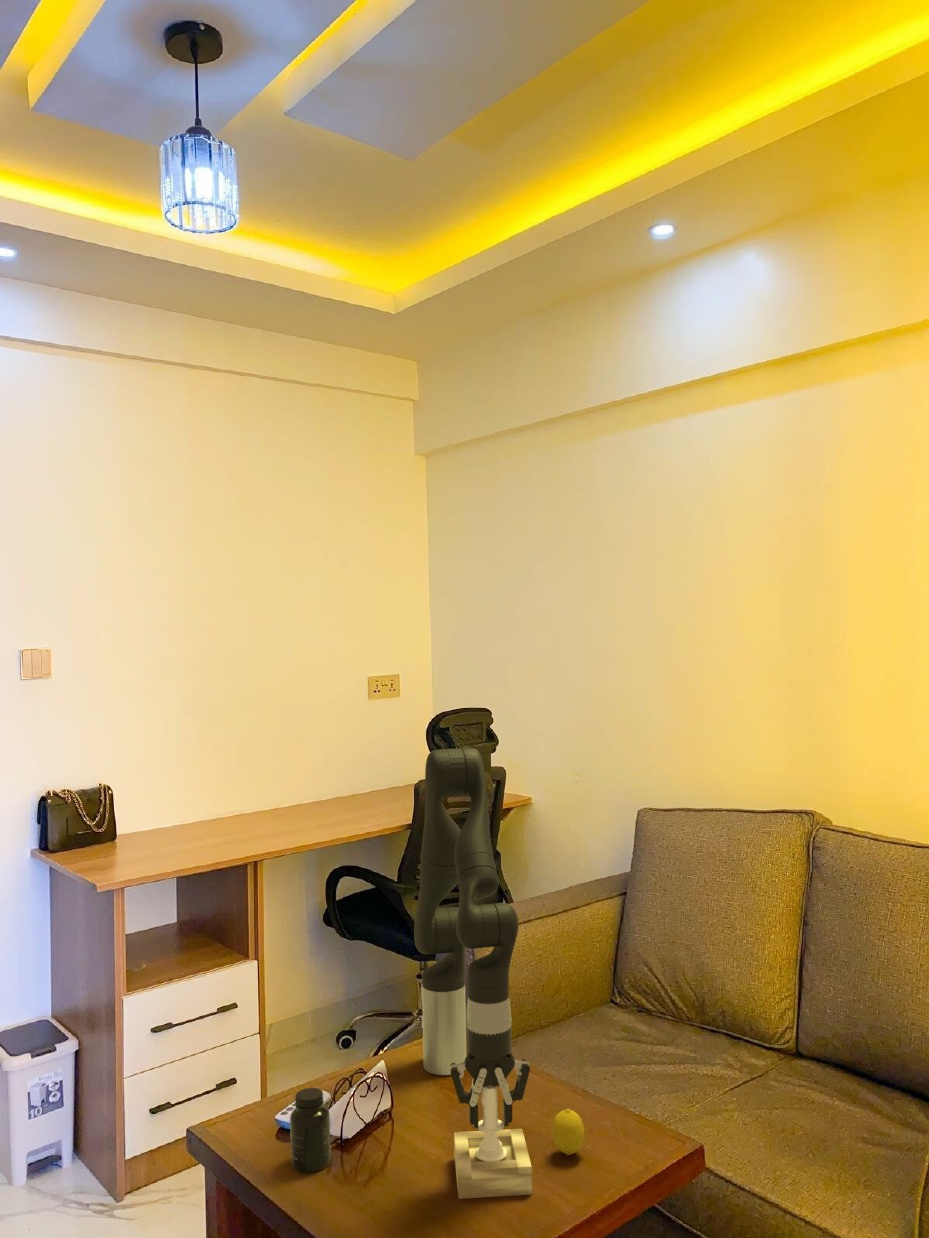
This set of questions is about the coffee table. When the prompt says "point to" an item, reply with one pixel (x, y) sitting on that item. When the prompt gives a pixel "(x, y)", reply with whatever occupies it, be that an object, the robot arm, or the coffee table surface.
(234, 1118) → the coffee table surface
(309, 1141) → the supplement bottle
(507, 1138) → the birch plinth
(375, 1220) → the coffee table surface
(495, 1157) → the candle
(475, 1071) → the robot arm
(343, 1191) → the coffee table surface
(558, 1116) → the lemon
